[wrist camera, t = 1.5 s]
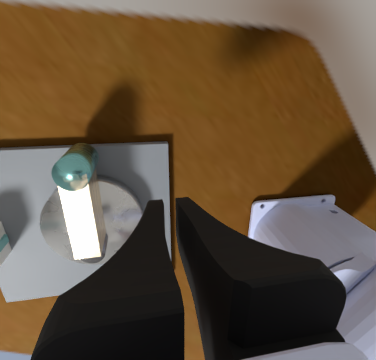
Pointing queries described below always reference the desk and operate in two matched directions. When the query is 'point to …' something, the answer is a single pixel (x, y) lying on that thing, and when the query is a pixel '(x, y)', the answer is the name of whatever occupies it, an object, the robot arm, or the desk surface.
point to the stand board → (43, 189)
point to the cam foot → (87, 209)
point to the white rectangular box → (4, 244)
